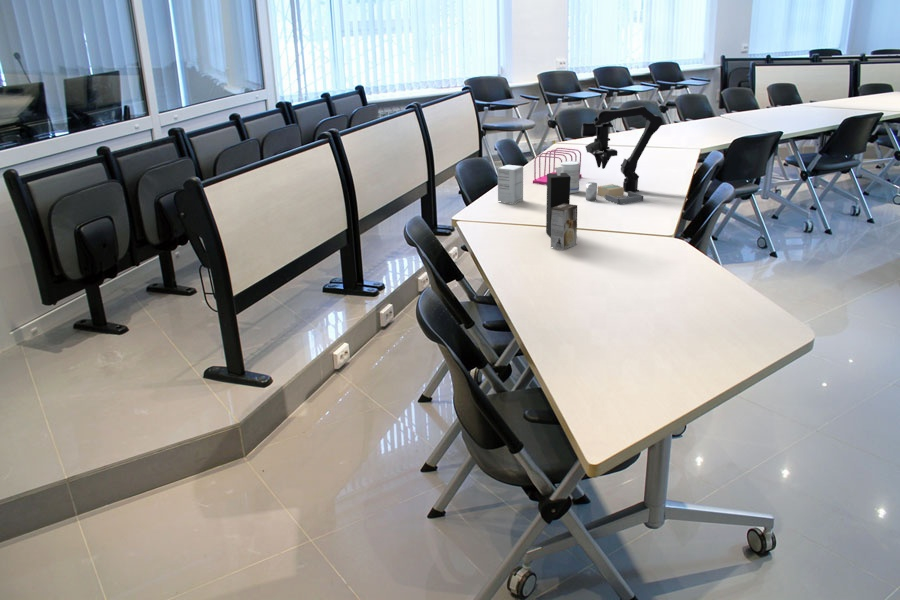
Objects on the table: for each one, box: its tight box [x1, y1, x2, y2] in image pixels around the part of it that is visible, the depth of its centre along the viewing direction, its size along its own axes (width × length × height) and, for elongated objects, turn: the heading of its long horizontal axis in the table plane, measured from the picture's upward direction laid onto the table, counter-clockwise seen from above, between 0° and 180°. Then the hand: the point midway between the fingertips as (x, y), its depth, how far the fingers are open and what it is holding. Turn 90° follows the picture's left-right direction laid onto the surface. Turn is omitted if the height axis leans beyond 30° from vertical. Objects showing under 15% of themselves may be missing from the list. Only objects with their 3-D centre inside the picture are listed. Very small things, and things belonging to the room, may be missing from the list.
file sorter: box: [532, 147, 582, 185], centre depth 390 cm, size 17×25×16 cm
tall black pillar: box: [545, 166, 571, 238], centre depth 293 cm, size 8×8×28 cm
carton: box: [597, 183, 625, 198], centre depth 357 cm, size 9×9×5 cm
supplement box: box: [497, 164, 524, 205], centre depth 350 cm, size 10×9×17 cm
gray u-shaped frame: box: [604, 191, 644, 205], centre depth 347 cm, size 14×11×2 cm
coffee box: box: [550, 203, 578, 251], centre depth 280 cm, size 9×6×16 cm
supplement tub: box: [560, 160, 581, 194], centre depth 365 cm, size 10×10×15 cm
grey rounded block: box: [585, 181, 598, 202], centre depth 349 cm, size 5×5×8 cm
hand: (601, 168), depth 361 cm, fingers open, 4 cm apart
